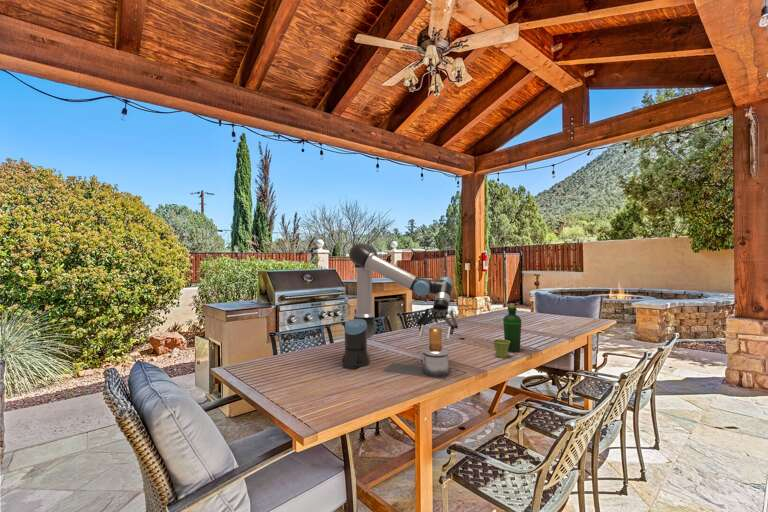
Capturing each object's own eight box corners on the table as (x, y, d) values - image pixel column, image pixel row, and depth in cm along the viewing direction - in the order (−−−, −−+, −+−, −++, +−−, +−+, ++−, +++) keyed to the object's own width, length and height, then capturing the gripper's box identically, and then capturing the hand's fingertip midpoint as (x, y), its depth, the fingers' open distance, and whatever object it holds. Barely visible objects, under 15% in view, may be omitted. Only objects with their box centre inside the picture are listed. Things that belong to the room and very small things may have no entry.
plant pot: (511, 359, 193) (511, 343, 193) (493, 358, 195) (493, 342, 195) (509, 354, 202) (508, 339, 202) (492, 353, 204) (492, 338, 204)
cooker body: (419, 375, 165) (419, 354, 165) (427, 367, 176) (426, 348, 176) (445, 378, 160) (445, 357, 160) (451, 370, 171) (450, 350, 171)
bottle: (523, 349, 212) (523, 303, 212) (519, 354, 203) (519, 306, 203) (505, 347, 218) (505, 302, 218) (501, 351, 209) (500, 304, 209)
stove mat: (381, 373, 172) (381, 371, 172) (392, 364, 184) (392, 363, 184) (445, 381, 159) (445, 379, 159) (452, 372, 172) (452, 370, 172)
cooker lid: (418, 354, 165) (418, 330, 165) (426, 347, 176) (425, 325, 177) (445, 357, 159) (445, 332, 160) (451, 350, 171) (451, 327, 172)
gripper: (466, 308, 177) (461, 345, 163) (420, 306, 187) (411, 340, 173) (464, 299, 172) (459, 336, 158) (416, 297, 182) (407, 332, 168)
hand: (434, 338), depth 166 cm, fingers open, 13 cm apart
